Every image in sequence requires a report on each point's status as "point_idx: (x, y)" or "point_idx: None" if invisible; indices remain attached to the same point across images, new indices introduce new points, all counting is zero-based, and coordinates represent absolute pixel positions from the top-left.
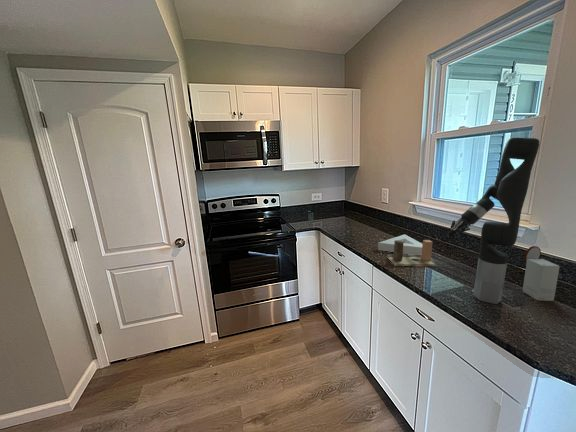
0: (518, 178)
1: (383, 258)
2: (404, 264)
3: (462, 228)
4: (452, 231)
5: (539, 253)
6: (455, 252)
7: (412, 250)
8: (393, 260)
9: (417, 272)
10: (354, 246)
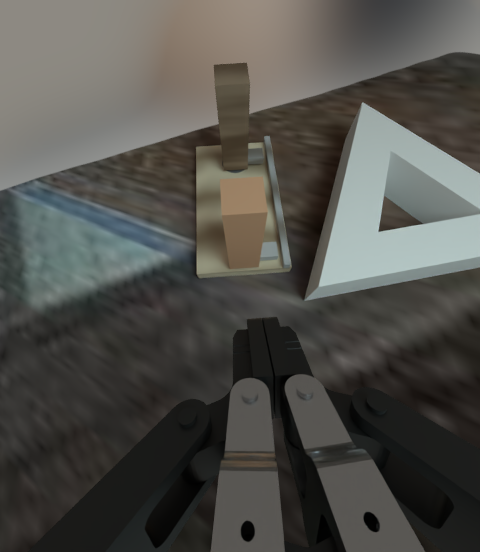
0: None
1: None
2: (196, 173)
3: (60, 520)
4: (253, 368)
5: None
6: None
7: (328, 224)
8: None
9: (150, 203)
10: (375, 86)
